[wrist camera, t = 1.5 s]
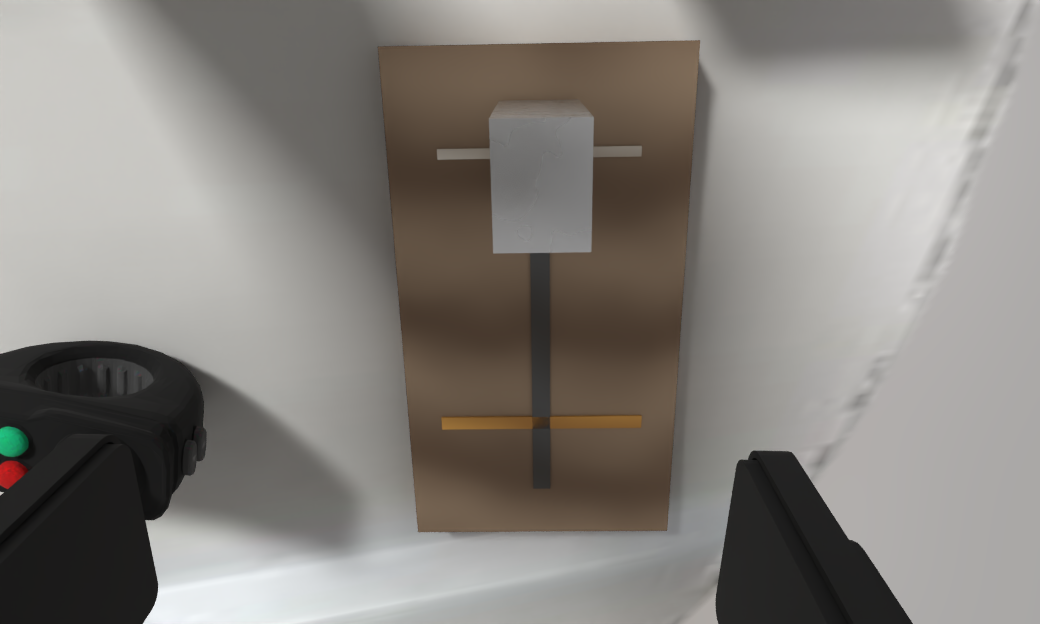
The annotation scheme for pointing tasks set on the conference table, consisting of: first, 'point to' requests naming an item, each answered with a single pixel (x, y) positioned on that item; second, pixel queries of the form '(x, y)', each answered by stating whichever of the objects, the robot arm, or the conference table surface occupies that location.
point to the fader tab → (541, 176)
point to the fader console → (540, 289)
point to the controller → (102, 410)
